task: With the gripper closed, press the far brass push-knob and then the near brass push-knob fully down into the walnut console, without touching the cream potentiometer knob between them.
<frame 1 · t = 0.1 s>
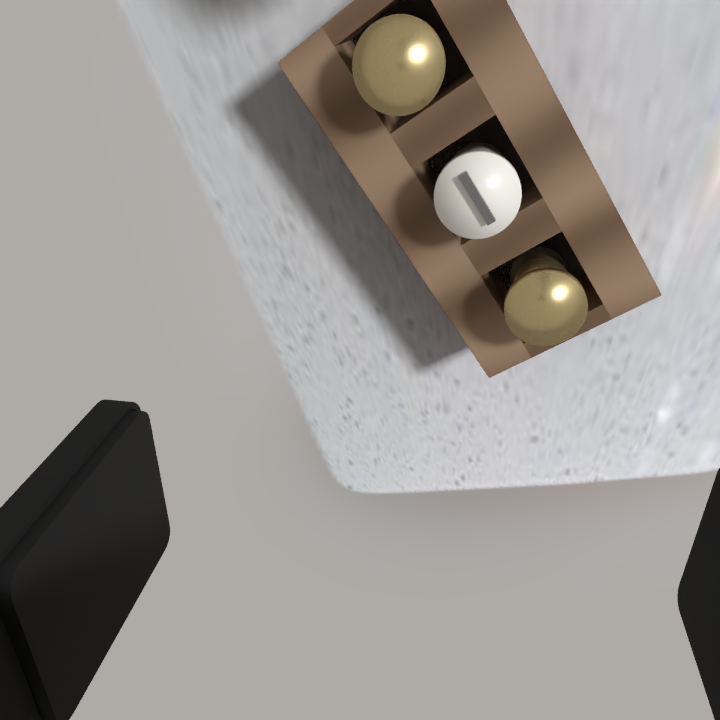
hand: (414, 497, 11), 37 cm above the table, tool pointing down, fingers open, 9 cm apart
brass knob B: (403, 61, 36), point 6 cm above the table, slide at 0.0 cm
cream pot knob: (477, 184, 39), point 6 cm above the table, slide at 0.0 cm
walnut console: (477, 160, 44), on the table
brass knob A: (541, 290, 42), point 6 cm above the table, slide at 0.0 cm
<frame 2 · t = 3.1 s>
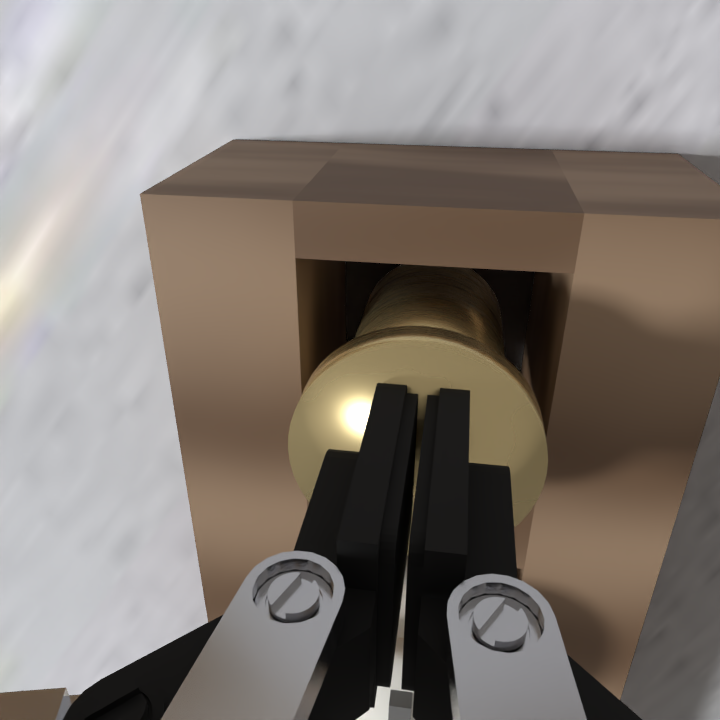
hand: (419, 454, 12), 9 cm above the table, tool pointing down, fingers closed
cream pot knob: (409, 635, 18), point 6 cm above the table, slide at 0.0 cm
walnut console: (424, 490, 24), on the table
brass knob A: (424, 379, 15), point 6 cm above the table, slide at 0.2 cm, touching gripper
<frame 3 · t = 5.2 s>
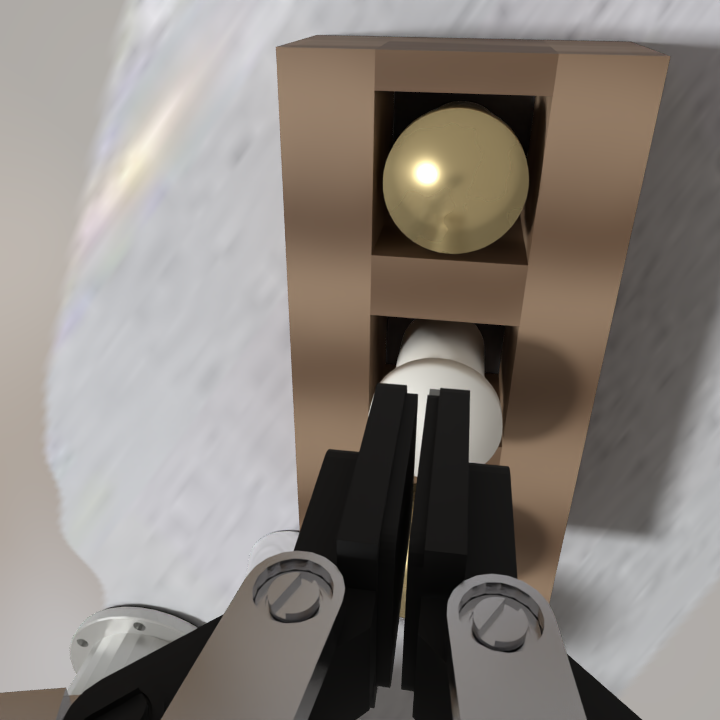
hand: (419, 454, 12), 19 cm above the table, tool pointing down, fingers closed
brass knob B: (426, 532, 30), point 6 cm above the table, slide at 0.0 cm
beer glass: (297, 563, 41), on the table
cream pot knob: (438, 386, 26), point 6 cm above the table, slide at 0.0 cm
walnut console: (445, 318, 31), on the table
brass knob A: (457, 164, 24), point 3 cm above the table, slide at 2.6 cm
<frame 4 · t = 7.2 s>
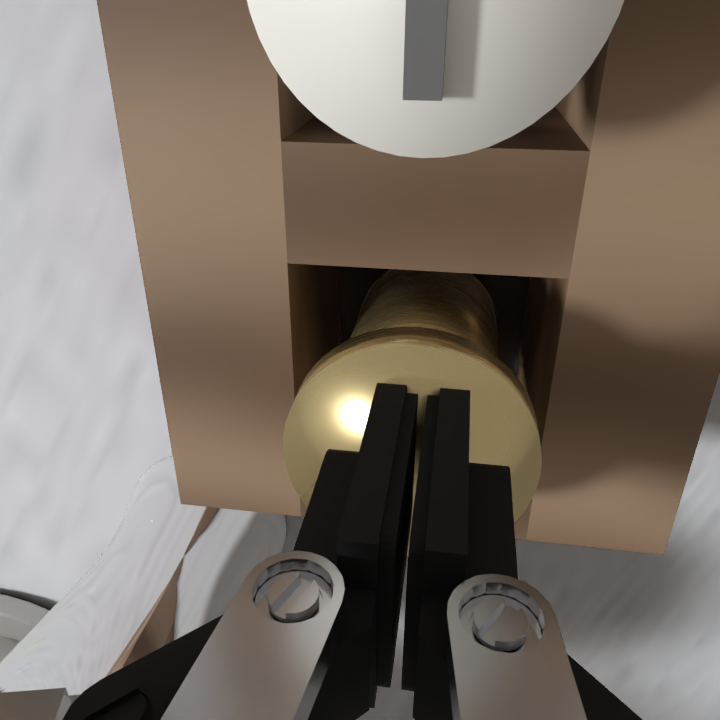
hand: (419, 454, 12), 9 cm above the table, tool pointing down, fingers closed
brass knob B: (419, 380, 15), point 6 cm above the table, slide at 0.5 cm, touching gripper
beer glass: (212, 511, 26), on the table
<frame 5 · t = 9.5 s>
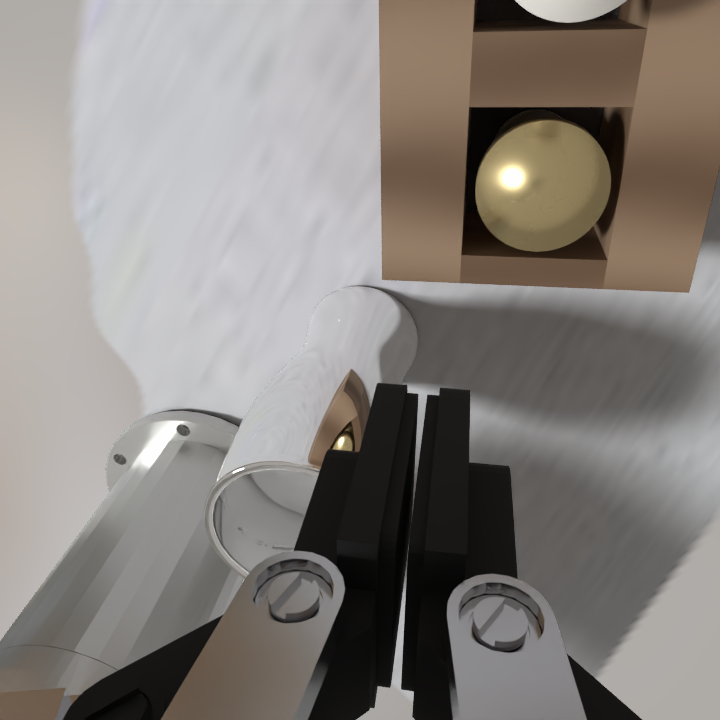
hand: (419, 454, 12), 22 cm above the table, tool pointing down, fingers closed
brass knob B: (536, 169, 27), point 3 cm above the table, slide at 2.6 cm
beer glass: (363, 334, 36), on the table
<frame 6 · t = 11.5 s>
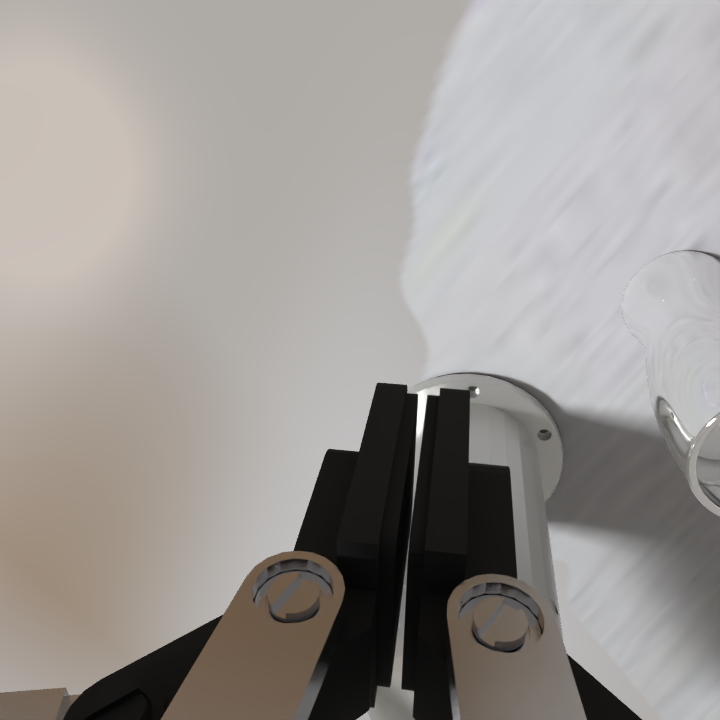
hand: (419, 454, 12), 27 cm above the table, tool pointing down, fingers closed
beer glass: (675, 299, 38), on the table
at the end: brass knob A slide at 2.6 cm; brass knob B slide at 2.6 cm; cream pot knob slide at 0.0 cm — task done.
